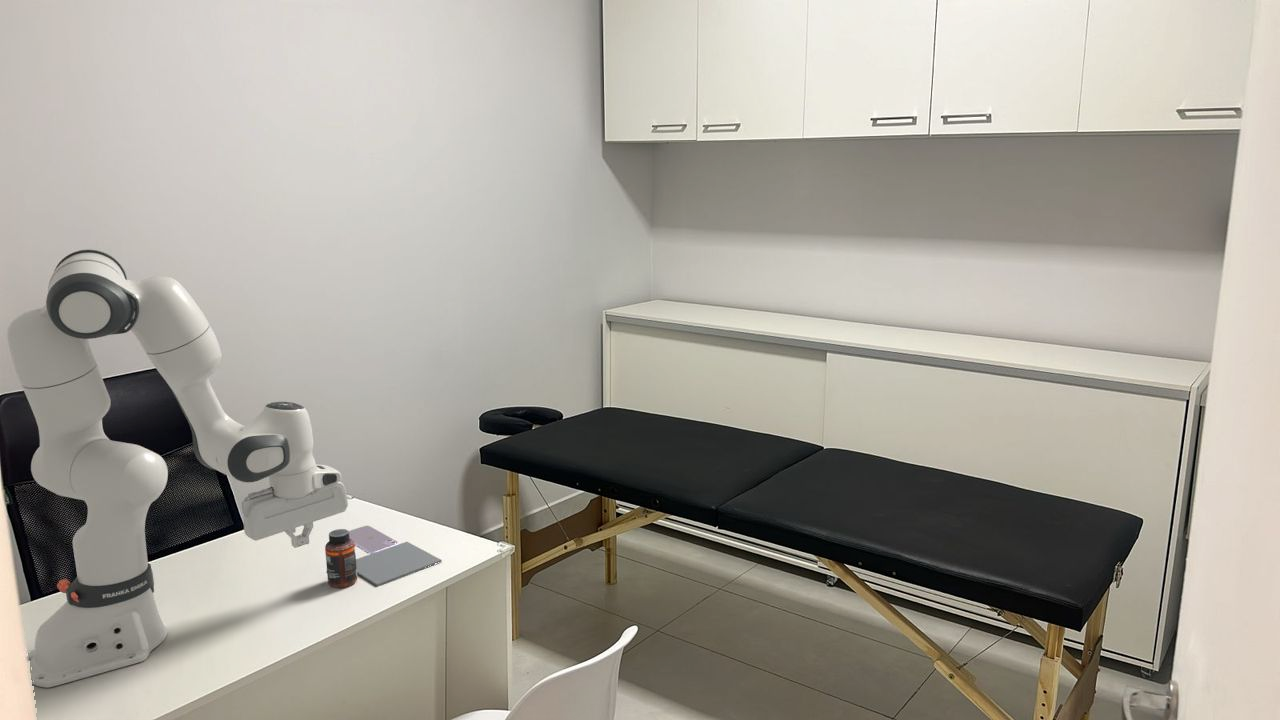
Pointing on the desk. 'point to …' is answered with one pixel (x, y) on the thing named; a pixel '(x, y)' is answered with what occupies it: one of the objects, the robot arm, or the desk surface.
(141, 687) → the desk surface
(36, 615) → the desk surface
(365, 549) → the mobile phone
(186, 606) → the desk surface
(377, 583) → the mat
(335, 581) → the supplement bottle
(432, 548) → the desk surface
